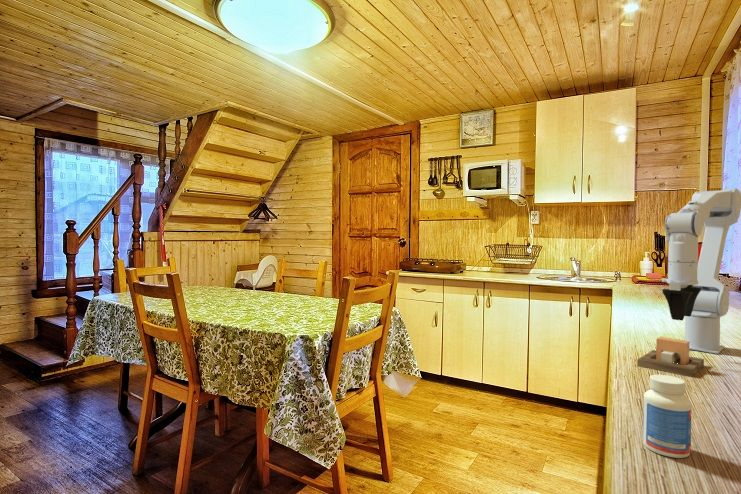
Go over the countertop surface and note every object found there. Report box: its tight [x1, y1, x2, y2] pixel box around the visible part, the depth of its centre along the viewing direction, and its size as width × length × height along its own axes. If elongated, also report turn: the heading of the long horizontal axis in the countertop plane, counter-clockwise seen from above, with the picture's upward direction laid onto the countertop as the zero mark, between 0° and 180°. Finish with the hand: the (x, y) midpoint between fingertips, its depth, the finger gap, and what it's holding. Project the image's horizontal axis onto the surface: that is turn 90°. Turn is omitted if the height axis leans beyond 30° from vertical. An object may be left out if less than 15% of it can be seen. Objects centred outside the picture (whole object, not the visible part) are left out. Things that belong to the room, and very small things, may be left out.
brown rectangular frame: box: [637, 349, 705, 378], centre depth 95 cm, size 12×10×4 cm
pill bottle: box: [642, 374, 692, 459], centre depth 57 cm, size 6×5×10 cm
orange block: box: [655, 336, 690, 365], centre depth 95 cm, size 3×6×6 cm, turn 42°
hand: (681, 317), depth 101 cm, fingers open, 7 cm apart
